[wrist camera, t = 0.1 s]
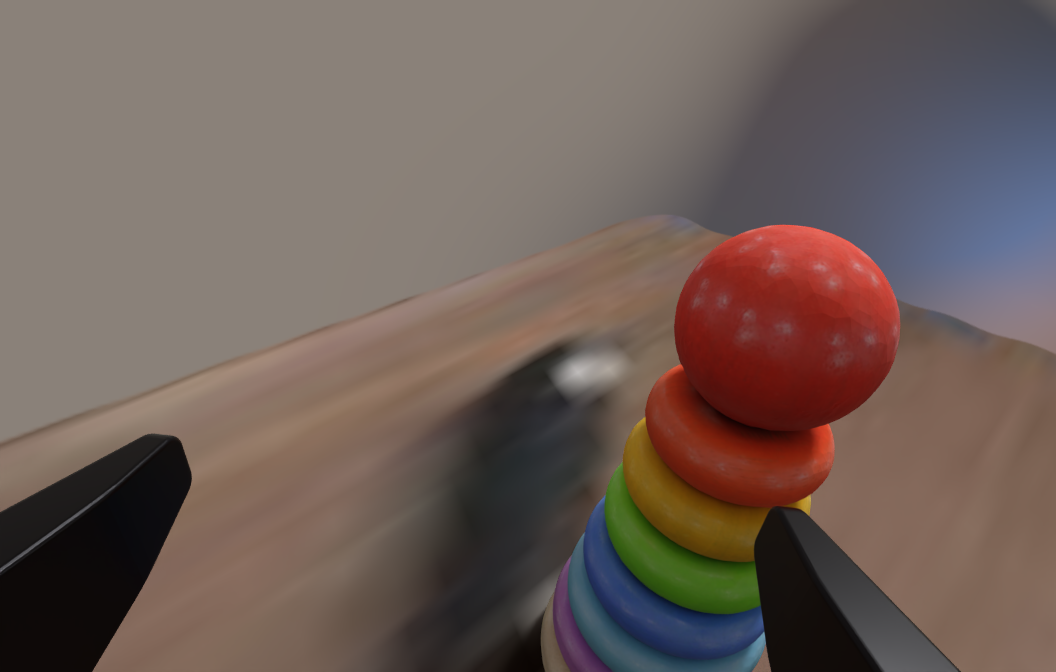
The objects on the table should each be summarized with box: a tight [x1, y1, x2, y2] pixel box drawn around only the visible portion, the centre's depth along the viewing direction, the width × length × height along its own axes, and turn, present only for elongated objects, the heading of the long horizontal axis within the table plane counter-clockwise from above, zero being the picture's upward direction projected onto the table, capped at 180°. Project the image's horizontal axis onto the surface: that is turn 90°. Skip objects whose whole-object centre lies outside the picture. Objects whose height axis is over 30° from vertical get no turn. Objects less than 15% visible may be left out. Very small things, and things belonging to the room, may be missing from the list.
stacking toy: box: [541, 225, 900, 672], centre depth 18 cm, size 8×8×19 cm
